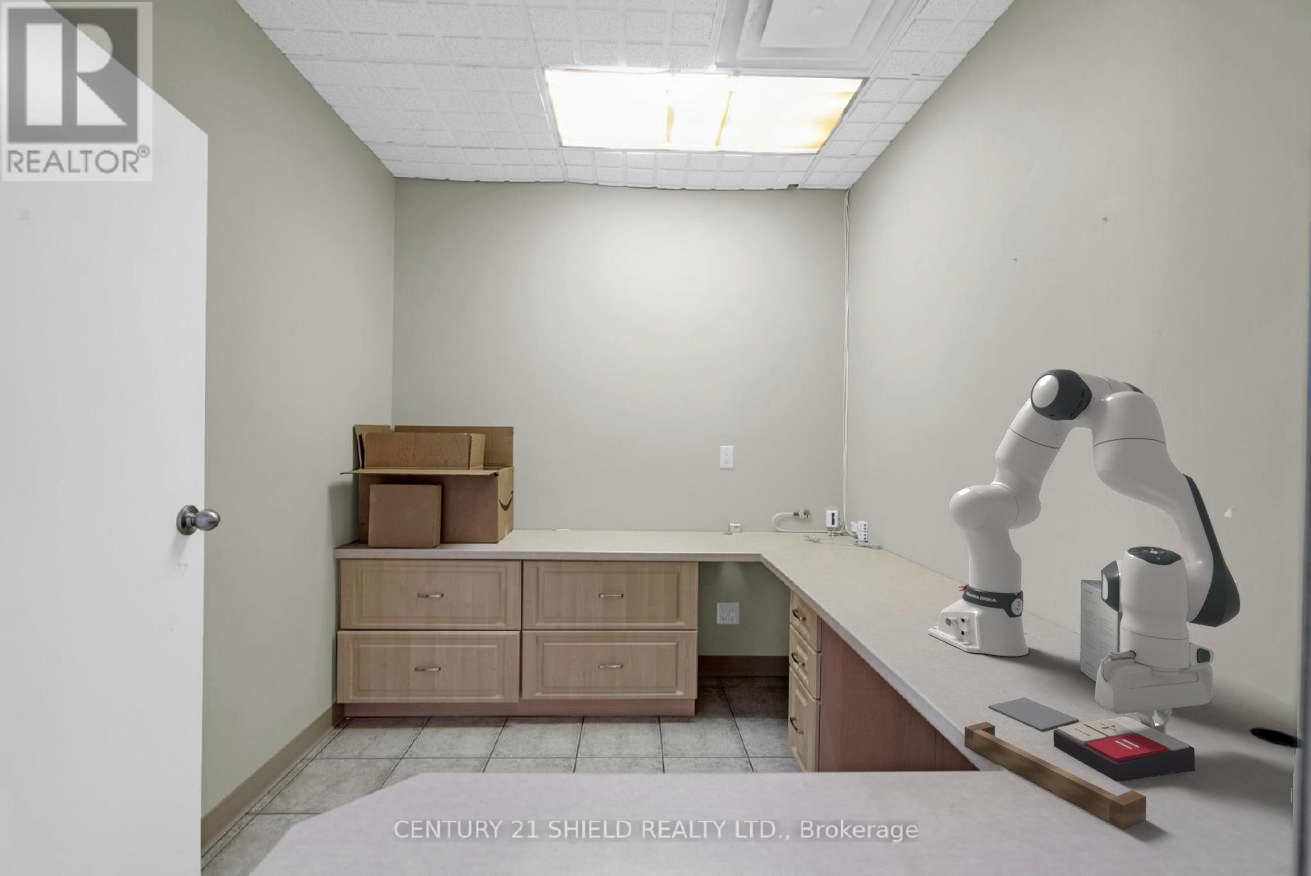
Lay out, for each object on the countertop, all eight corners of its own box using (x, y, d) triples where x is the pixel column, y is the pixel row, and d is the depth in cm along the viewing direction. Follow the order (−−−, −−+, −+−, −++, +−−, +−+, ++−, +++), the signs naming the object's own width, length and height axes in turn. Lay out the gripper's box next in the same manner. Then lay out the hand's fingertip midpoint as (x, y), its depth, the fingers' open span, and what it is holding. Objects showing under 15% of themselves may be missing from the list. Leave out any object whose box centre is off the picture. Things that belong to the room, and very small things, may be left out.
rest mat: (988, 707, 114) (988, 705, 114) (1024, 698, 118) (1024, 697, 118) (1041, 731, 105) (1041, 729, 105) (1078, 720, 109) (1078, 719, 109)
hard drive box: (1162, 703, 117) (1163, 598, 117) (1116, 699, 118) (1117, 595, 118) (1118, 673, 132) (1119, 580, 132) (1078, 670, 134) (1079, 578, 134)
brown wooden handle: (964, 745, 99) (964, 726, 99) (985, 739, 101) (986, 721, 101) (1123, 829, 78) (1123, 805, 78) (1146, 819, 80) (1146, 796, 80)
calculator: (1051, 725, 100) (1124, 711, 103) (1052, 751, 100) (1125, 737, 103) (1116, 759, 89) (1196, 743, 93) (1117, 788, 89) (1197, 771, 93)
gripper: (1121, 660, 95) (1121, 750, 95) (1222, 651, 100) (1222, 736, 100) (1084, 646, 101) (1083, 731, 101) (1180, 639, 106) (1180, 719, 106)
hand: (1153, 734), depth 100 cm, fingers closed
